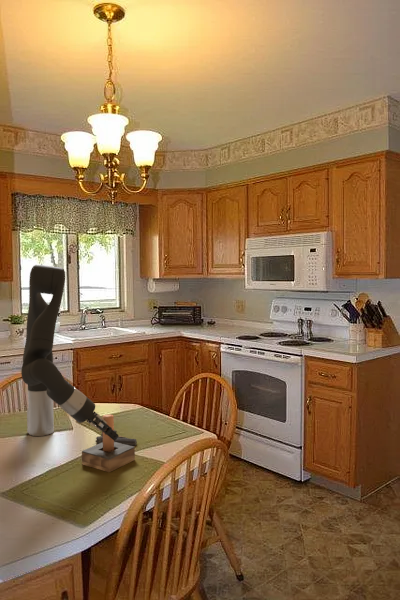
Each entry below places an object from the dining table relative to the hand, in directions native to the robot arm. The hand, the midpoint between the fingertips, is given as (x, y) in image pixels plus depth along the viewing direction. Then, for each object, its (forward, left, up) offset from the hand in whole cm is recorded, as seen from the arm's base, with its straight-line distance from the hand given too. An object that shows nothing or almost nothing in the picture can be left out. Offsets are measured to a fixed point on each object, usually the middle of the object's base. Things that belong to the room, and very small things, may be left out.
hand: (114, 436), depth 160 cm
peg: (-1, -2, -5) cm, 5 cm away
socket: (-1, -2, -8) cm, 9 cm away
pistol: (-12, +16, -9) cm, 22 cm away
